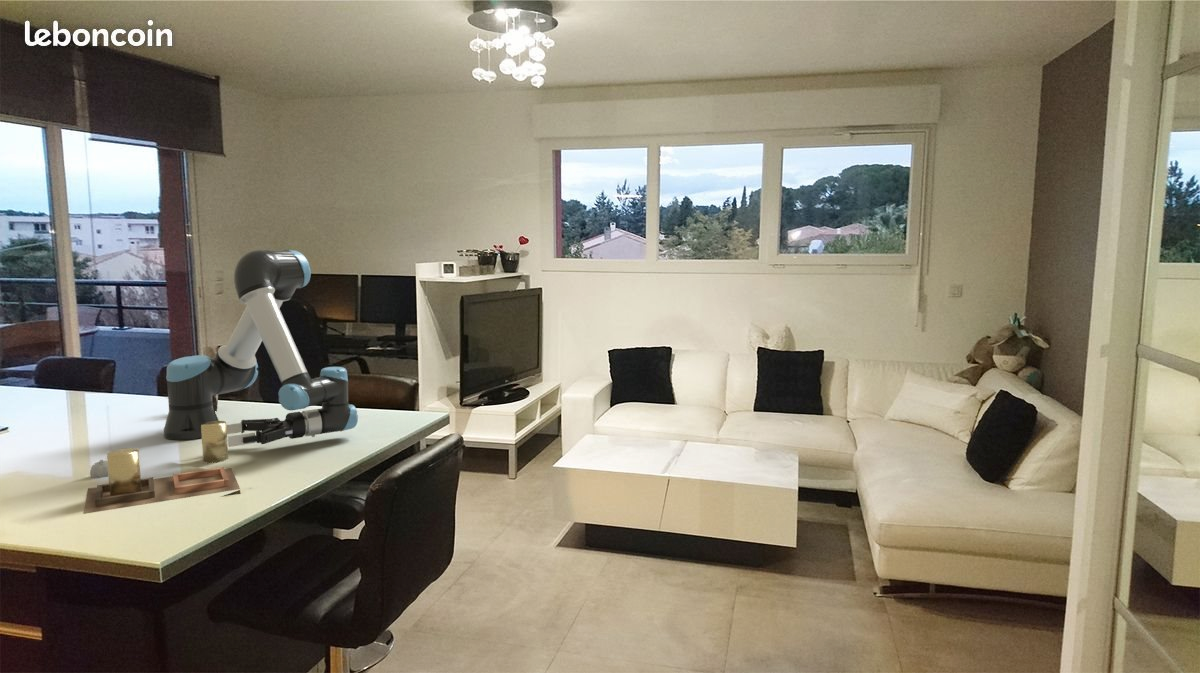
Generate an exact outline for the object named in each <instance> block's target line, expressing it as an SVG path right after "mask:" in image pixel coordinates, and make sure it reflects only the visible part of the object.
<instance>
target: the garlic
mask: <svg viewBox="0 0 1200 673" xmlns="http://www.w3.org/2000/svg"><path fill="white" fill-rule="evenodd" d="M89 476H90V477H91V478H105V477H109V475H108V462H107V460H104V459H99V461H96V462H95V463H94V464H92V466H91V467H90V470H89Z"/></svg>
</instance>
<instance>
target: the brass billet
mask: <svg viewBox="0 0 1200 673" xmlns="http://www.w3.org/2000/svg"><path fill="white" fill-rule="evenodd" d="M226 424H227V422H226V421H225V420H219V421H211V422H206V423H203V424H201V433H202V438H201V449H202V461H203V463H206V462H207V464H208V463H209V464H212V462H213V463H214V462H216V463H221V462H224V460H225V461H227V460H228V459H229V445H228V434H227V427H226ZM226 459H227V460H226ZM220 461H221V462H220Z"/></svg>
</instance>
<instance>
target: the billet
mask: <svg viewBox="0 0 1200 673" xmlns="http://www.w3.org/2000/svg"><path fill="white" fill-rule="evenodd" d="M106 461H107V462H108V475H109V476H108V484H109V488H110V496H116V495H123V494H129V493H136V492H142V490H141V479H142V478H141V464H140V453H139V449H138V448H131V447H130V448H119V449H114V450H111V451H109V452H108V453H106Z"/></svg>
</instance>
